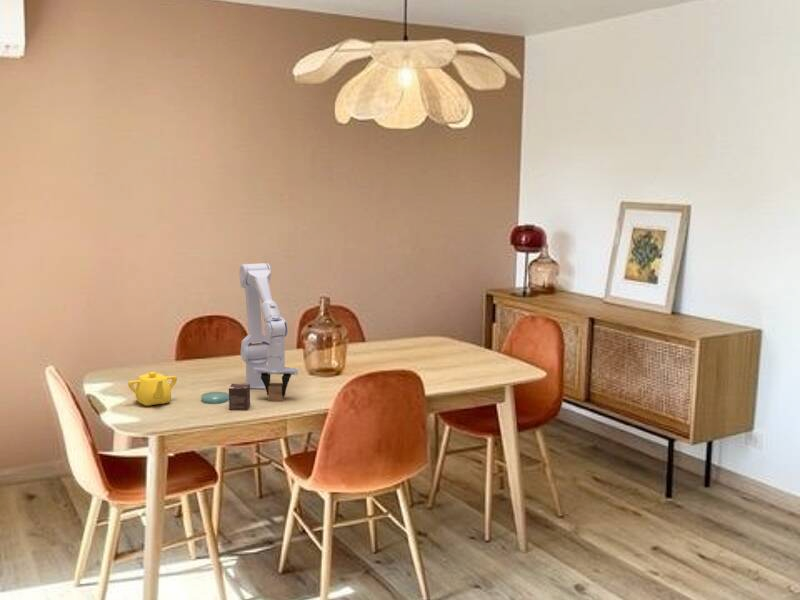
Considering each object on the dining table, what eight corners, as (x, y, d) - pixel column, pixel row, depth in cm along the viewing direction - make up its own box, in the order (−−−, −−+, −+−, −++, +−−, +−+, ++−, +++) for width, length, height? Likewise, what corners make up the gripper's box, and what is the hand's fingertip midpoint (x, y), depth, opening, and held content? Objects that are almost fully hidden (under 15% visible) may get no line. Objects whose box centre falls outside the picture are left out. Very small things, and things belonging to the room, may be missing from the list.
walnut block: (270, 397, 279) (270, 382, 278) (284, 397, 279) (284, 383, 278) (268, 400, 274) (268, 386, 274) (281, 401, 274) (281, 386, 273)
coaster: (205, 397, 279) (205, 391, 278) (231, 397, 278) (231, 392, 278) (198, 404, 270) (198, 398, 269) (225, 405, 270) (225, 399, 269)
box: (250, 405, 269) (250, 383, 268) (247, 410, 263) (247, 388, 262) (231, 405, 269) (231, 383, 268) (228, 410, 263) (228, 388, 262)
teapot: (183, 399, 274) (182, 369, 273) (162, 410, 262) (161, 378, 260) (147, 396, 278) (146, 366, 276) (125, 406, 266) (123, 375, 264)
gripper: (252, 357, 270) (252, 397, 272) (295, 358, 270) (295, 398, 272) (256, 353, 277) (256, 392, 279) (299, 354, 277) (299, 393, 279)
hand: (276, 395), depth 276 cm, fingers closed on walnut block, 4 cm apart
